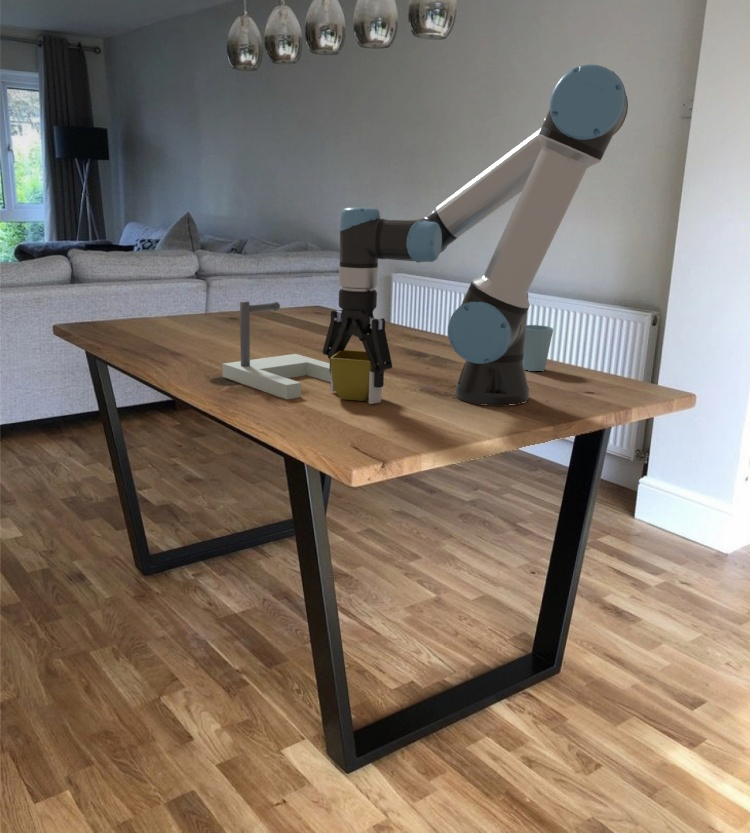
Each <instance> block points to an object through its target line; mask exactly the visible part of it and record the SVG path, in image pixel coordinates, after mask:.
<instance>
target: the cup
mask: <svg viewBox="0 0 750 833" xmlns="http://www.w3.org/2000/svg"><path fill="white" fill-rule="evenodd" d="M553 332H554V327H551V326H546V325H539V324H526V333H525V345H524V356H523V366H524V370H528V371H527V372H529V371H543V372H545V371H546V366H547V361H548V358H549V357H548V356H549V351H550V346H551V342H552V337H553ZM544 370H545V371H544Z"/></svg>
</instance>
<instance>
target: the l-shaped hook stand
mask: <svg viewBox="0 0 750 833" xmlns="http://www.w3.org/2000/svg"><path fill="white" fill-rule="evenodd" d="M280 308H281V305H280V302H278V301H272V303H271V302H270V303H258V304H257V303H256V304H250V301H247V300H241V301H239V321H240V322H239V323H240V324H239V325H240V326H239V327H240V328H239V329H240V330H239V332H240V336H239V337H240V342H239V343H240V360H238V361H233V362H226V363H222V378H225V379H228V380H231V381H233V382H236V383H238V384H242V385H245V386H247V387H250V388H253V389H256V390H259V391H262V392H265V393H267V394H270V395H272V396H276V397H279V398H281V399H284V400H292V399H297V398H302V382H300V381H297V380H294V379H291V378H298V377H304V376H308V377H312V378H315V379H318V380H321V381H324V382H328V383H331V374H330V362H327V361H322V360H320V359H315V358H312V357H309V356H304V355H301V354H298V353H291V354H284V355H277V356H276V355H275V356H269V357H268V356H267V357H262V358H255V359H251V341H250V340H251V339H250V338H251V337H250V334H251V331H250V328H251V324H250V312H260V311H271V310H272V311H275V312H276V311H279V310H280Z"/></svg>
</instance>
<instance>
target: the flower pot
mask: <svg viewBox="0 0 750 833" xmlns="http://www.w3.org/2000/svg"><path fill="white" fill-rule="evenodd" d="M329 363H331V373H332V381H333V385H334V388H335V390H336V391H335V392H336V394H337V396H338V397H339V399H340V400H348V401H360V402H365V401H366V400H367V399H368V398H369V372H370V370H371V369H372V366H371V364H370V361H369V358H368V356H367V353H366V351H365V350H354V349H353V350H352V349H344V350H343V351H338V352H337V353H336V354H335V355H333V356H332V357H331V358H330V359H329ZM377 365H378V363H377Z"/></svg>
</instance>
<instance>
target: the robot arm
mask: <svg viewBox="0 0 750 833" xmlns="http://www.w3.org/2000/svg"><path fill="white" fill-rule="evenodd" d="M628 110H629V100H628V96H627V93H626V88H625V85H624V82H623V81H622V80H621V77H619V76H618V74H616V73H615V72H614V71H613V70H611V69H609V68H607V67H605V66H603V65H599V64H592V63H591V64H583V65H579V66H576V67H573V68H572V69H570V70H569V71H567V72H566V73H565V74H564V75H563V76H561V78H560V79H559V80H558V82H557V83H556V85H555V87H554V88H553V90H552V93H551V98H550V100H549V110H548V112H547V113H546V116H545V117H544V118H543V123H542V126H541V127H539V128H538V129H536V131H534V132H533V133H532V134H531V135H529V136H528V137H527V138H526V139H524V140H523V141H521V142H520V143H519V144H518V145H516V146H515V147H513V148H512V149H511V150H509V152H507V153H506V154H504V155H503V156H502V157H500V158H499V159H498V160H496V161H495V162H494V163H492V164H491V165H489V167H487V168H486V169H485V170H483V171H481V172H480V173H479V174H478V175H477V176H476V177H474V178H473V179H470V181H469V182H467V183H466V184H465V185H463V186H462V187H460V189H458V190H457V191H456V192H454V193H453V194H452V195H450V196H449V197H448V198H446V199H445V200H444V201H443V202H441V203H440V204H439V205H437V206H436V207H435V208H433V209H432V210H431V211H429V212H428V213H426V214H425V215H424V216H423V217H421V218H420V219H419V218H418V219H409V220H407V219H386V218H381V216H380V210H379V209H378V208H374V207H357V206H356V207H355V206H352V207H351V206H349V207H345V208H343V209H342V211H341V214H340V224H339V225H340V227H339V230H338V231H339V267H338V286H339V287H340V289H339V290H338V307H339V308H340V309H339V310H332V311H331V312H330V322H329V327H328V329H327V334H326V337H325V341H324V345H323V349H322V354H323V356H324V355H325V356H327V357H328V359H329V360H330V358H331V357H332V356H333V355H335V354H336V353H337V352H338V351H343V350H346V347H347V346H348V343H349V342H350V340H351V338H352V336H354V337H357V338H358V340H359V341H361V342H362V345H363V348H364V351H366V353H367V356H368V358H369V361H370V364H371V366H372V369H371V370H370V372H369V396H368V404H370V405H371V404H372V405H373V404H377V403H381V402H382V388H383V387H384V379H385V377H384V376H385V375H384V374H385V371H386V370H391V369H392V368H393V362H392V358H391V354H390V347H389V343H388V339H387V335H386V320H385V318H382V317H381V318H375V317H374V310H376V308H377V304H378V292H377V290H376V289H375V288H377V287H378V267H379V260H393V261H394V260H395V261H404V262H406V261H407V262H408V261H409V262H415V263H432V262H435V261H437V260H438V258H439V256H440V254H441V253H443V252H444V251H445V250H446V249H447V248H448V246H449V245H451V244H452V243H453V242H455V241H456V240H457V239H459V237H461V236H463V235H464V234H465V233H467V232H468V231H470V229H472V228H473V227H475V226H476V225H477V224H478V223H480V222H482V221H483V220H484V219H486V218H487V217H488V216H490V215H491V214H493V213H494V212H495V211H496V210H498V209H500V208H501V207H502V206H503V205H506V203H508V202H509V201H510V200H512V199H513V198H515V197H516V196H517V195H519V194H520V195H519V197H518V199H517V202H516V204H515V206H514V208H513V210H512V212H511V214H510V217H509V219H508V221H507V224H506V225H505V228H504V230H503V232H502V233H501V237H499V238H500V239H499V240H498V242H497V246H496V248H495V250H494V252H493V254H492V256H491V258H490V260H489V263H488V265H487V267H486V269H485V271H484V274H482V275H480V276H478V277H475V278H473V279H472V281H471V283H470V285H469V287H468V289H467V291H466V293H465V295H464V298H463V300H462V302H461V304H460V305H459V306H458V307H457V308H456V309H455V311H454V312H453V313H452V315H451V317H450V318H449V321H448V326H447V337H448V340H449V344H450V345H451V347H452V349H453V351H454V352H455V354H457V355H458V356H459V357H460V358H461V359H463V360H465V361H464V362H465V363H464V365H463V368H462V370H461V373H460V376H459V378H458V381H457V382H456V385H455V396H456V398H457V399H459V400H461V401H463V402H465V403H466V402H467V403H471V404H474V403H477V404H476V405H480V404H487V405H486V406H489V405H509V404H518V403H522V402H525V401H527V400H528V401H529V396H530V387H529V385H528V381H527V376H526V371H525V370H524V366H523V356H524V345H525V333H526V325H527V320H528V318H527V317H528V311H529V308H530V301H529V292H528V291H529V289H530V288H531V285H532V284H533V281H534V279H535V277H536V275H537V272H538V271H539V269H540V266H541V265H542V263H543V260H544V258H545V256H546V254H547V252H548V250H549V248H550V246H551V244H552V241H553V240H554V238H555V235H556V233H557V231H558V229H559V227H560V225H561V223H562V221H563V219H564V217H565V215H566V212H567V210H568V209H569V207H570V205H571V203H572V200H573V199H574V197H575V194H576V192H577V190H578V188H579V186H580V185H581V184H580V183H581V181H582V179H583V177H584V175H585V174H586V171H587V169H589V168H590V167H593V166H594V165H595V166H596V164H599V163H601V161H602V158H603V156H604V155H605V152H606V151H607V148H608V146H609V145H610V143H611V140H612V139H613V137H614V136H615V134H617V133H618V132H619V130H621V128H622V126H624V125H623V124H625V120H626V119H627V115H628ZM329 363H330V362H329ZM377 363H378V365H377ZM330 374H331V382H330V384H329V385H330V392H336V390H335V388H334V385H333V381H332V373H331V363H330ZM528 401H527V402H528Z"/></svg>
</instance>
